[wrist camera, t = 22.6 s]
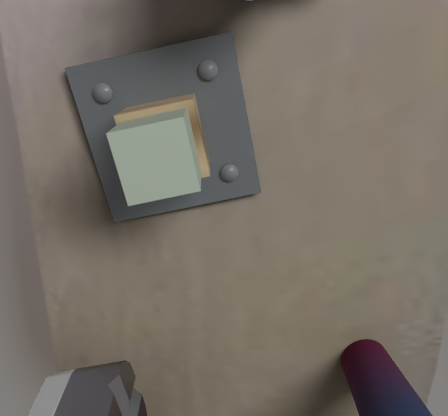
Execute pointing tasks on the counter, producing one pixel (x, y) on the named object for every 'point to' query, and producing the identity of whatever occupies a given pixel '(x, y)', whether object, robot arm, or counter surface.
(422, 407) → the cup
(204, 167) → the oak block
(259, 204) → the counter surface
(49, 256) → the counter surface
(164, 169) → the sage block
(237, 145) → the build plate
